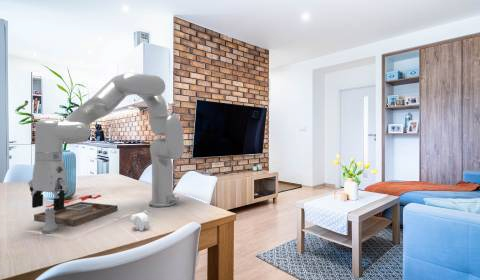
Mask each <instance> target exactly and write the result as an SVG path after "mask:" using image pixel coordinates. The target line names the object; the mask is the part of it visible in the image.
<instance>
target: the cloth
mask: <svg viewBox="0 0 480 280" xmlns="http://www.w3.org/2000/svg"><path fill="white" fill-rule="evenodd" d="M101 197H102V195H101V194H98V195H95V196H93V195H91V194H89V195H85V196H81V197H79V198H77V199H75V198H74V199H73V200H71V199H70V200H64V204H69V203H70V202H74V201H77V200H81V202H85V201H86V200H88V199H91V200H96V199H98V198H101ZM52 207H54V203H52V204H50V205H47V206H46V208H52Z"/></svg>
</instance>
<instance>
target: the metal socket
mask: <svg viewBox="0 0 480 280" xmlns="http://www.w3.org/2000/svg"><path fill="white" fill-rule="evenodd" d="M91 211H93V205H85V204H79V205H75V206H72V207H68V208H65V214H69V215H76V216H79V215H82V214H85V213H88V212H91Z"/></svg>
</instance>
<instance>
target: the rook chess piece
mask: <svg viewBox="0 0 480 280" xmlns="http://www.w3.org/2000/svg"><path fill="white" fill-rule="evenodd" d="M43 212H44V213H45V214H46V216H45V218H46V221H45V222H44V225H43V227H42V228H41V229H42V232H41V233H42V234H43V235H52V234H53V232H55V231H57V230H58V224H56V223H55V219H54V216H55V215H54V213H55V212H56V211H54V207H46V208H45V210H44V211H43ZM51 232H52V233H51Z"/></svg>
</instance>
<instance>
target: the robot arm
mask: <svg viewBox="0 0 480 280" xmlns="http://www.w3.org/2000/svg"><path fill="white" fill-rule="evenodd" d="M165 91H166V83H165V81H164V80H163V78H161V77H160V76H158V75H152V74H145V73H144V74H143V73H135V72H127V73H122V74H119V75H115V76H113V77H112V78H111V79H110V80H109V81H107V83H106V84H105V85H103V86H102V87H101V89H99V90H98V91H97V92H96V93H95V94H94V95H93V96H91V98H89V99H88V100H86V101H85V102H84V103H83V104H81V105H80V106H78V107H77V108H76V109H75V110H73V111H72V112H71V113H70V114H69V115H67V116H66V117H65V119H63V120H62V121H56V120H38V121H36V123H35V128H34V129H35V131H34V136H35V137H34V165H33V170H32V179H31V180H29V181H28V183H27V184H28V186H29V191H30V192H31V193H30V196H31V197H32V200H31V208H34V209H35V208H39V207H43V205H44V194H43V192H45V193H52V194H53V196H54V198H53V204H54V206H53V208H54V211H57V210H60V209H64V206H65V203H64V201H65V197H66V196H67V194H68V192H69V188H70V187H71V186H70V184H69V183H68V182H67V173H66V167H65V166H66V165H65V162H64V161H63V152H64V151H63V150H64V148H63V145H64V144H63V143H65V142H66V143H74V144H75V143H77V144H79V143H83V142H85V141H87V140H89V138H90V136H91V135H92V133H91V128H90V125H91V124H92V123H94V122H96V121H97V120H99V119H101V118H104V117H106V116H108V115H109V114H111V113H112V112H113V111H114V110H115V109H116V108H117V107H118V106H119V105H120V104H121V103H122V101H124V100H125V99H126V98H127V97H128V96H131V95H136V96H137V97H139V98H140V99H142V100H143V101H144V102H145V104H146V106H147V110H148V117H149V126H150V130H151V133H153V134H154V135H156V136H164V137H158V138H155V139H154V140H153V141H152V142H151V143H150V145H149V146H150V147H149V152H150V158H151V159H150V160H151V200H149V201H148V205H149V206H150V207H153V208H164V207H171V206H174V205H176V203H178V202H179V201H180V196H176V195H175V193H174V191H173V189H174V185H173V181H174V180H173V178H174V174H173V173H174V171H173V170H174V169H173V168H174V166H173V162H172V160H176V159H179V158H181V157H182V156H183V154H184V151H185V141H184V132H183V125H182V121H181V120H180V118H179V117H178V116H176V115H174V114H169V113H168V112H169V111H168V105H167V103H166V100H165V98H164V96H163V93H164V92H165Z"/></svg>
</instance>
